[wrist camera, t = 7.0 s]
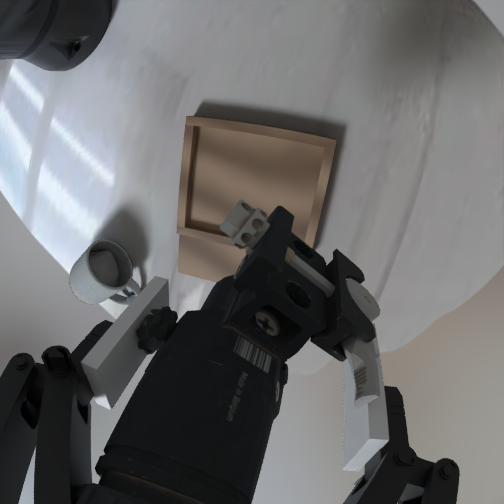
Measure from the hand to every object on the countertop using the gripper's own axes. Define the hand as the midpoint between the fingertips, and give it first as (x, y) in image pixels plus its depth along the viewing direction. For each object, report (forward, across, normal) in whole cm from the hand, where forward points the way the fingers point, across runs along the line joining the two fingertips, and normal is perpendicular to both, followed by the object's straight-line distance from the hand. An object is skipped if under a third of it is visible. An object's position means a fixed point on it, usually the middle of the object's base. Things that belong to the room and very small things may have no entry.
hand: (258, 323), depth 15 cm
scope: (+2, 0, 0) cm, 2 cm away
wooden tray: (+22, -5, -2) cm, 22 cm away
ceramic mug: (+22, -24, -15) cm, 36 cm away
